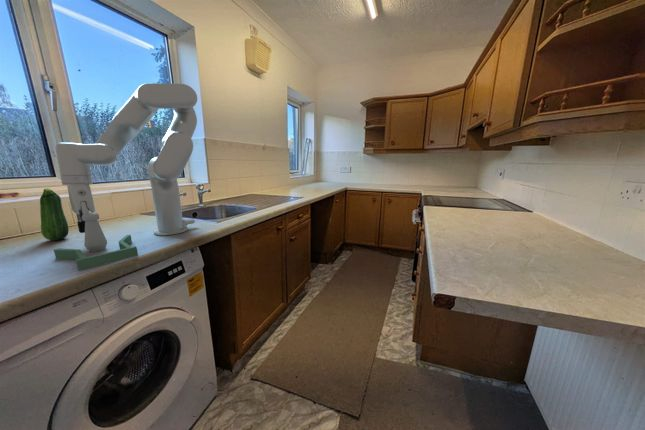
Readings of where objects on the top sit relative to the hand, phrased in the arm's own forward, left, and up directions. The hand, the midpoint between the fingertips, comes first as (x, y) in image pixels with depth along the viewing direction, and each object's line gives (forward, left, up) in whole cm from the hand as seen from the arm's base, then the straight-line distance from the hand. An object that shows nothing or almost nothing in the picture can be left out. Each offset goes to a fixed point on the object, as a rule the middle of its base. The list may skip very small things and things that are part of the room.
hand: (85, 231), depth 88 cm
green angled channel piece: (-1, +16, -5) cm, 17 cm away
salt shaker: (-1, +8, -5) cm, 10 cm away
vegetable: (+6, -18, -5) cm, 20 cm away
